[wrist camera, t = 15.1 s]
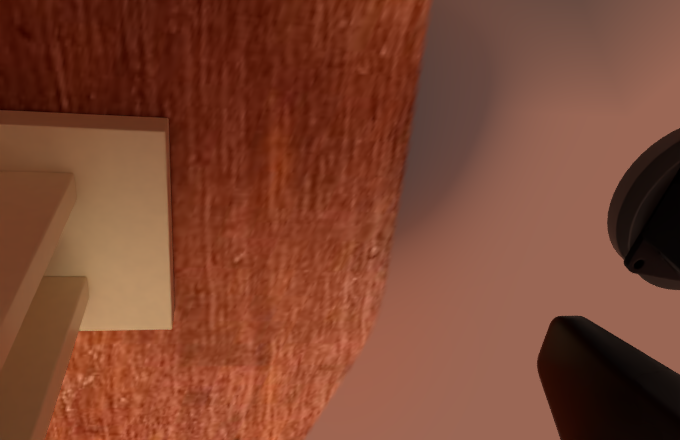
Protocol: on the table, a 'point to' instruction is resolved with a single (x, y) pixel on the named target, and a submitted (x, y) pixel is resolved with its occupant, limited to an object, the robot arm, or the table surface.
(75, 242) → the bracket
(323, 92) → the table surface
